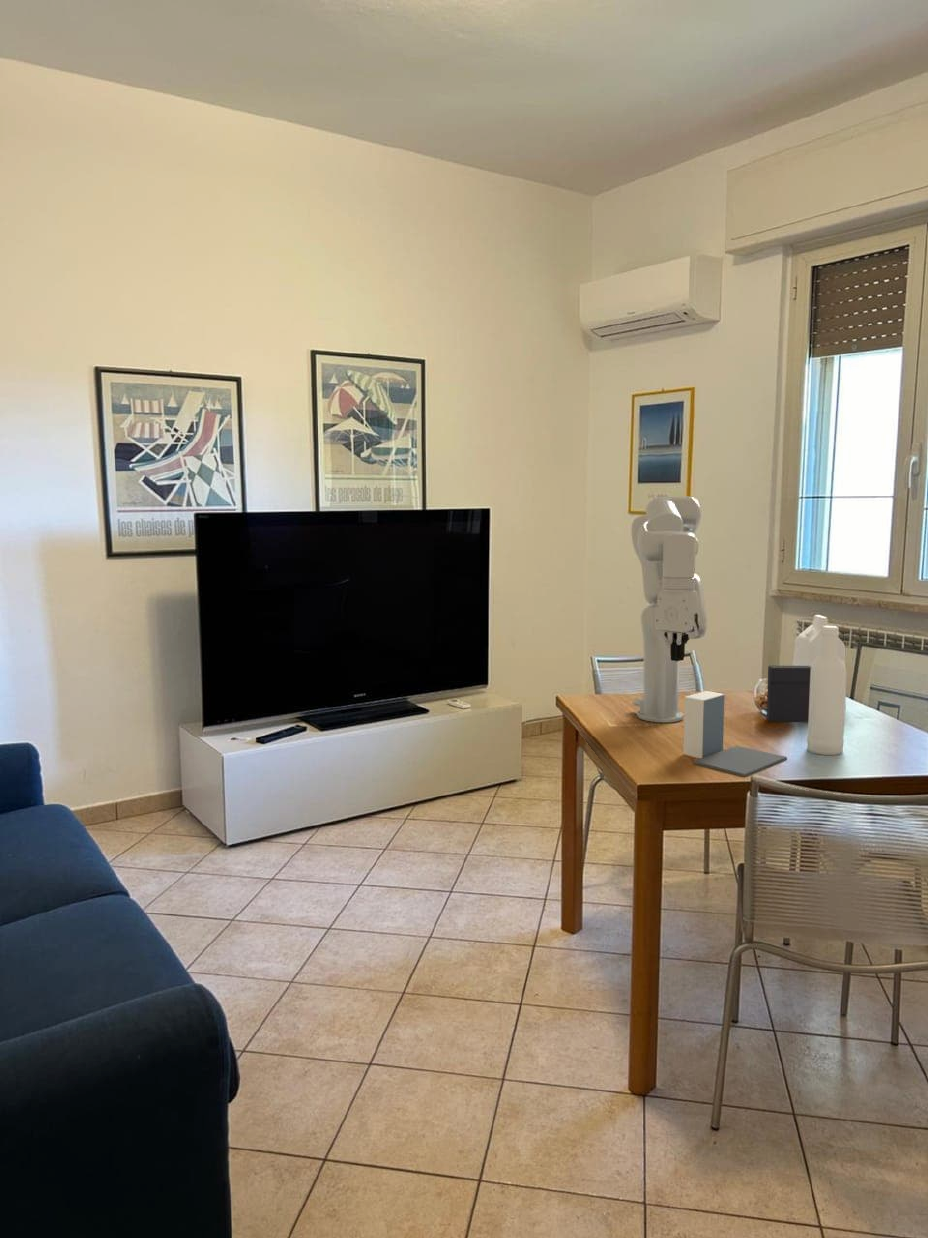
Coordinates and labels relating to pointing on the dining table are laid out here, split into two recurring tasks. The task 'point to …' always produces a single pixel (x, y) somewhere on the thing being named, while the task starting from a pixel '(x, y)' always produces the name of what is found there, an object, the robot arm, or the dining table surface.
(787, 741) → the dining table surface
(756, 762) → the mat
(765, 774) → the dining table surface
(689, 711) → the flip block
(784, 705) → the dark grey box
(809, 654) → the milk
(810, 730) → the bottle
